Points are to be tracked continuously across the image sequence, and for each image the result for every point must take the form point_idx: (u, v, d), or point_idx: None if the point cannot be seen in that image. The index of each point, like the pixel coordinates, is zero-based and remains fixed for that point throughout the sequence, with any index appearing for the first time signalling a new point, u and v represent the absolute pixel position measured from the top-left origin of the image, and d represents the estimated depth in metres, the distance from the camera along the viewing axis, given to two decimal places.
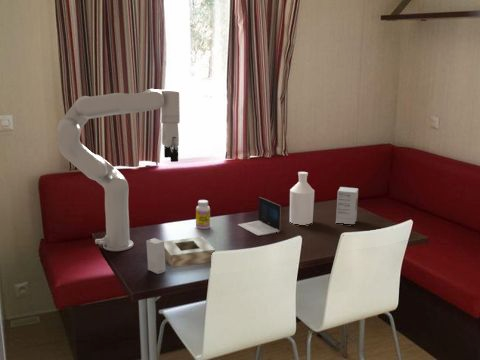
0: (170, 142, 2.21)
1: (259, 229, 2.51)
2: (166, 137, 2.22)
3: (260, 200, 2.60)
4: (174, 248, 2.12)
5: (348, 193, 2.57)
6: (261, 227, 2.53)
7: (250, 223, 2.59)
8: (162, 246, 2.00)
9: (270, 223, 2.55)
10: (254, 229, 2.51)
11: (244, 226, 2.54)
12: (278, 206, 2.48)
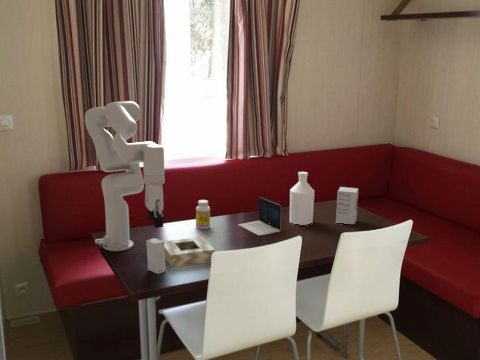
0: (153, 206, 1.92)
1: (260, 229, 2.51)
2: (149, 200, 1.93)
3: (260, 200, 2.60)
4: (174, 248, 2.12)
5: (348, 193, 2.57)
6: (261, 227, 2.54)
7: (250, 223, 2.59)
8: (162, 246, 2.00)
9: (270, 222, 2.55)
10: (255, 229, 2.51)
11: (244, 226, 2.55)
12: (279, 206, 2.48)
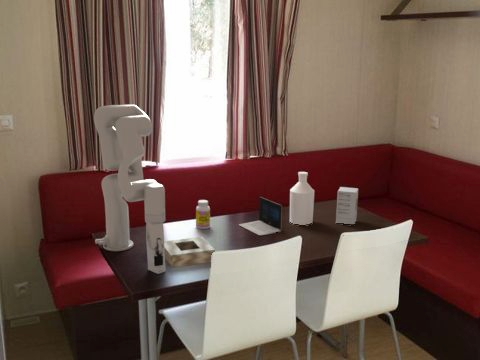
0: (154, 244, 1.95)
1: (260, 229, 2.51)
2: (150, 238, 1.96)
3: (261, 200, 2.60)
4: (174, 248, 2.12)
5: (348, 193, 2.57)
6: (262, 227, 2.54)
7: (251, 223, 2.59)
8: None
9: (271, 222, 2.55)
10: (255, 229, 2.51)
11: (245, 226, 2.55)
12: (279, 206, 2.48)
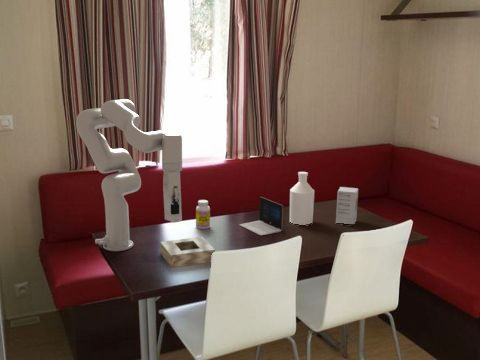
0: (171, 192, 1.99)
1: (261, 229, 2.51)
2: (167, 186, 2.00)
3: (261, 200, 2.60)
4: (174, 248, 2.12)
5: (348, 193, 2.57)
6: (263, 227, 2.54)
7: (251, 223, 2.59)
8: None
9: (272, 222, 2.55)
10: (256, 228, 2.51)
11: (246, 226, 2.55)
12: (280, 206, 2.48)
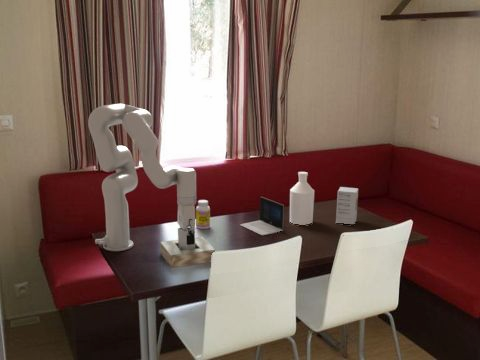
0: (186, 225, 2.08)
1: (262, 229, 2.51)
2: (182, 219, 2.09)
3: (262, 200, 2.60)
4: (174, 248, 2.12)
5: (348, 193, 2.57)
6: (264, 227, 2.54)
7: (252, 223, 2.59)
8: None
9: (272, 222, 2.56)
10: (257, 228, 2.51)
11: (247, 226, 2.55)
12: (281, 205, 2.48)
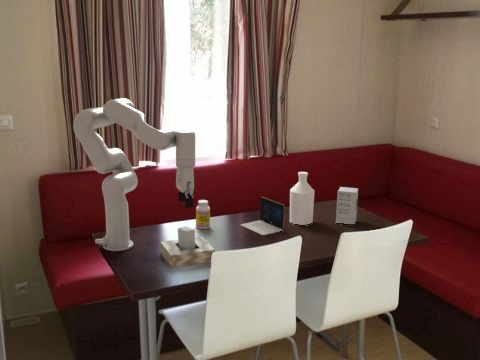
0: (185, 187, 2.05)
1: (262, 229, 2.51)
2: (181, 181, 2.06)
3: (262, 200, 2.60)
4: (174, 248, 2.12)
5: (348, 193, 2.57)
6: (264, 227, 2.54)
7: (252, 223, 2.59)
8: (192, 234, 2.14)
9: (273, 222, 2.56)
10: (258, 228, 2.51)
11: (247, 226, 2.55)
12: (281, 205, 2.49)
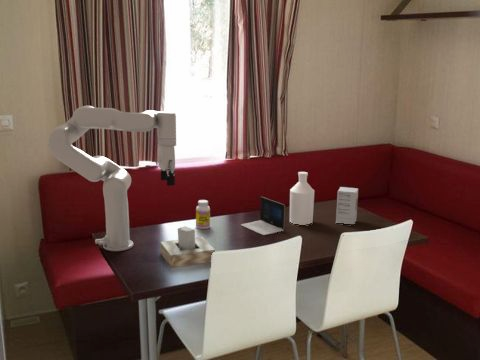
0: (166, 166, 2.14)
1: (263, 229, 2.51)
2: (162, 160, 2.15)
3: (262, 200, 2.61)
4: (174, 248, 2.12)
5: (348, 193, 2.57)
6: (264, 227, 2.54)
7: (253, 223, 2.60)
8: (193, 234, 2.14)
9: (273, 222, 2.56)
10: (258, 228, 2.52)
11: (247, 226, 2.55)
12: (282, 205, 2.49)
